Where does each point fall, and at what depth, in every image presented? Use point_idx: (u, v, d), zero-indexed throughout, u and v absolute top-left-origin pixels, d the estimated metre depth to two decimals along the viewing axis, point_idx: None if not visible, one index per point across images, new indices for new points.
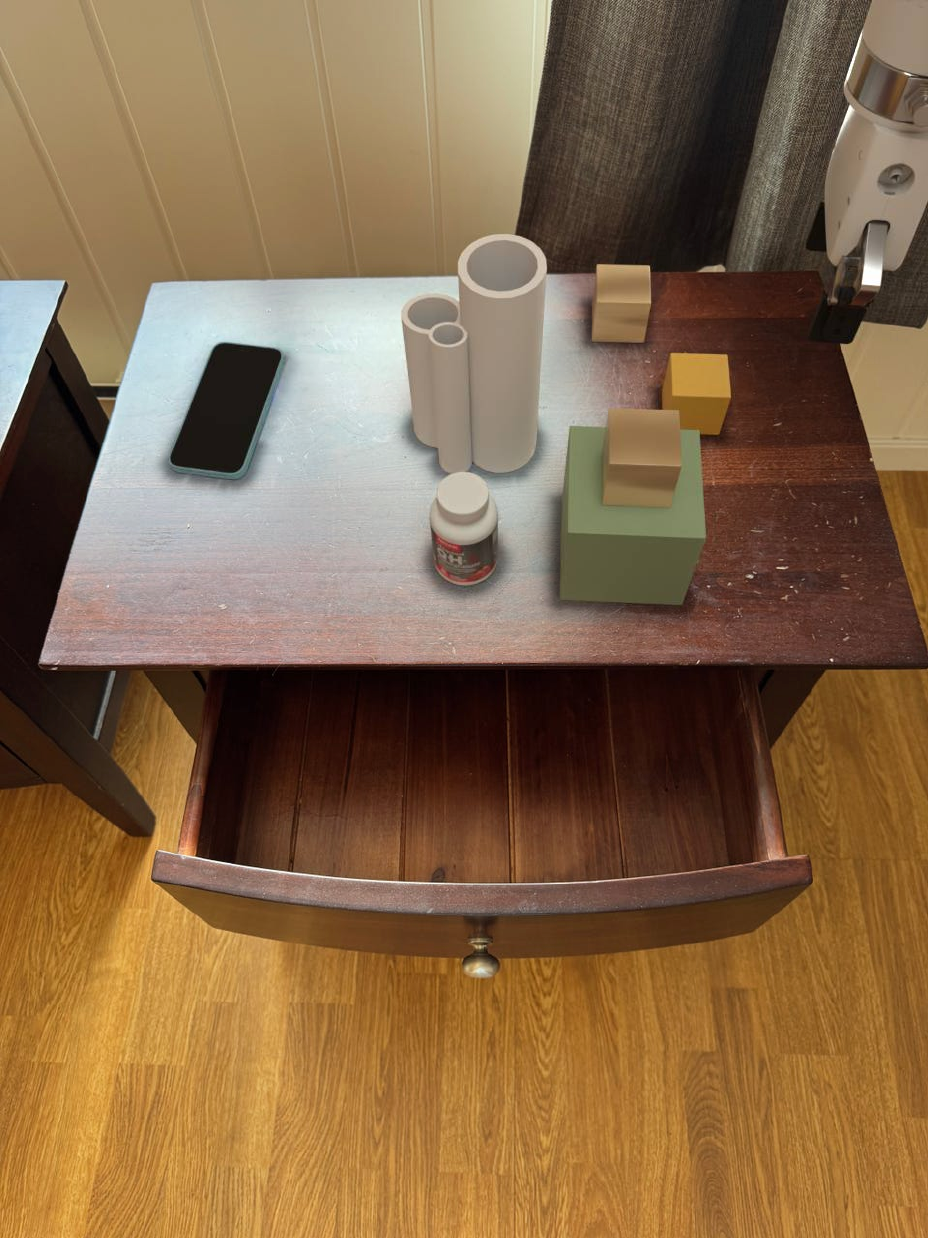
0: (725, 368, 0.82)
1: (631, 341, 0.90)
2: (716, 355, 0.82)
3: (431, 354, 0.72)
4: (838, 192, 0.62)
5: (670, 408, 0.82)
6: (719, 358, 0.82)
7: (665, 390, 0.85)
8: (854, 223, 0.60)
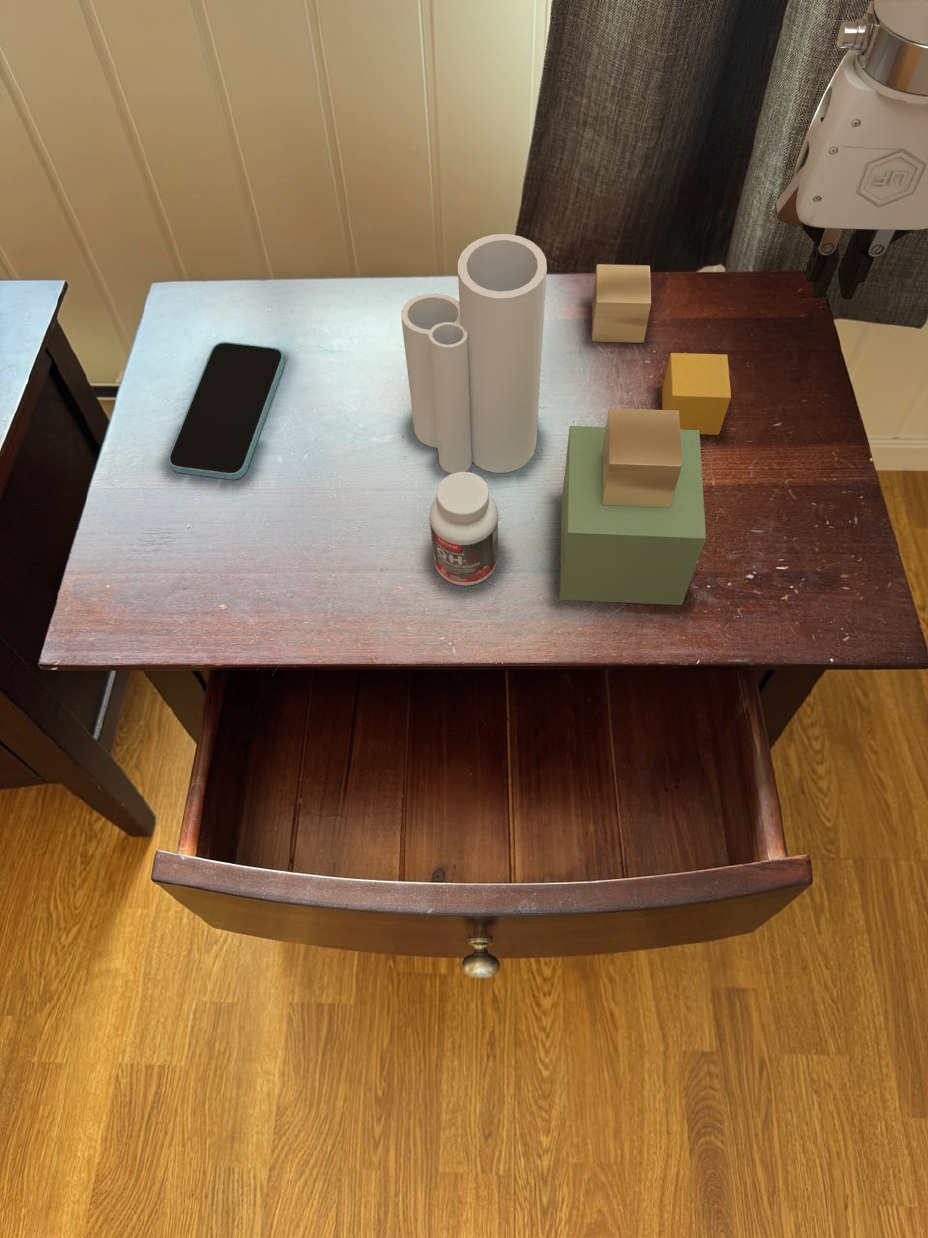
0: (725, 368, 0.82)
1: (631, 341, 0.90)
2: (716, 355, 0.82)
3: (431, 354, 0.72)
4: None
5: (670, 408, 0.82)
6: (719, 358, 0.82)
7: (665, 390, 0.85)
8: (806, 136, 0.63)
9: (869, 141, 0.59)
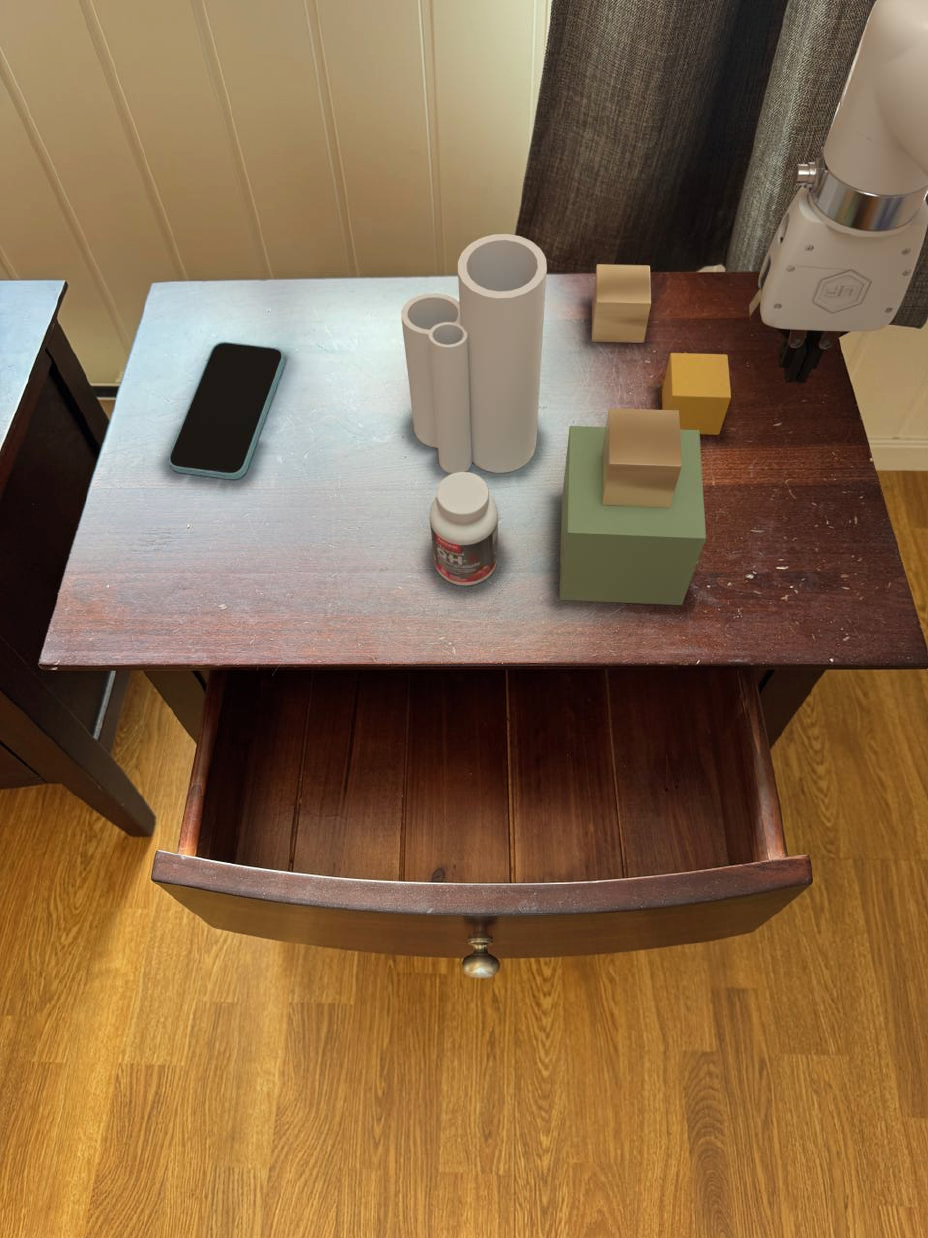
0: (725, 368, 0.82)
1: (631, 341, 0.90)
2: (716, 355, 0.82)
3: (431, 354, 0.72)
4: None
5: (670, 408, 0.82)
6: (719, 358, 0.82)
7: (665, 390, 0.85)
8: (768, 250, 0.72)
9: (821, 263, 0.67)
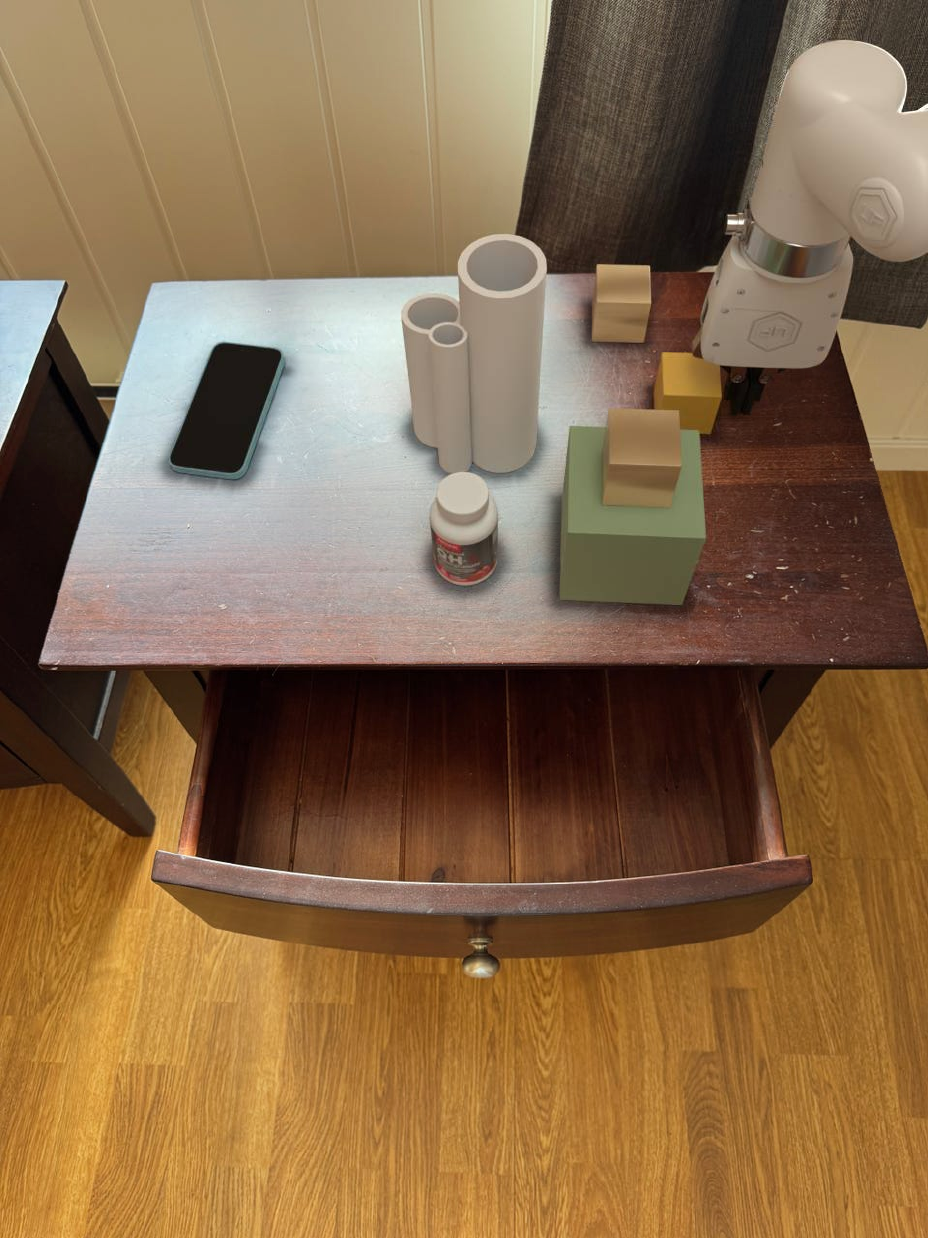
0: (716, 367, 0.82)
1: (631, 341, 0.90)
2: None
3: (431, 354, 0.72)
4: None
5: (661, 407, 0.82)
6: None
7: (657, 389, 0.85)
8: None
9: (753, 305, 0.71)
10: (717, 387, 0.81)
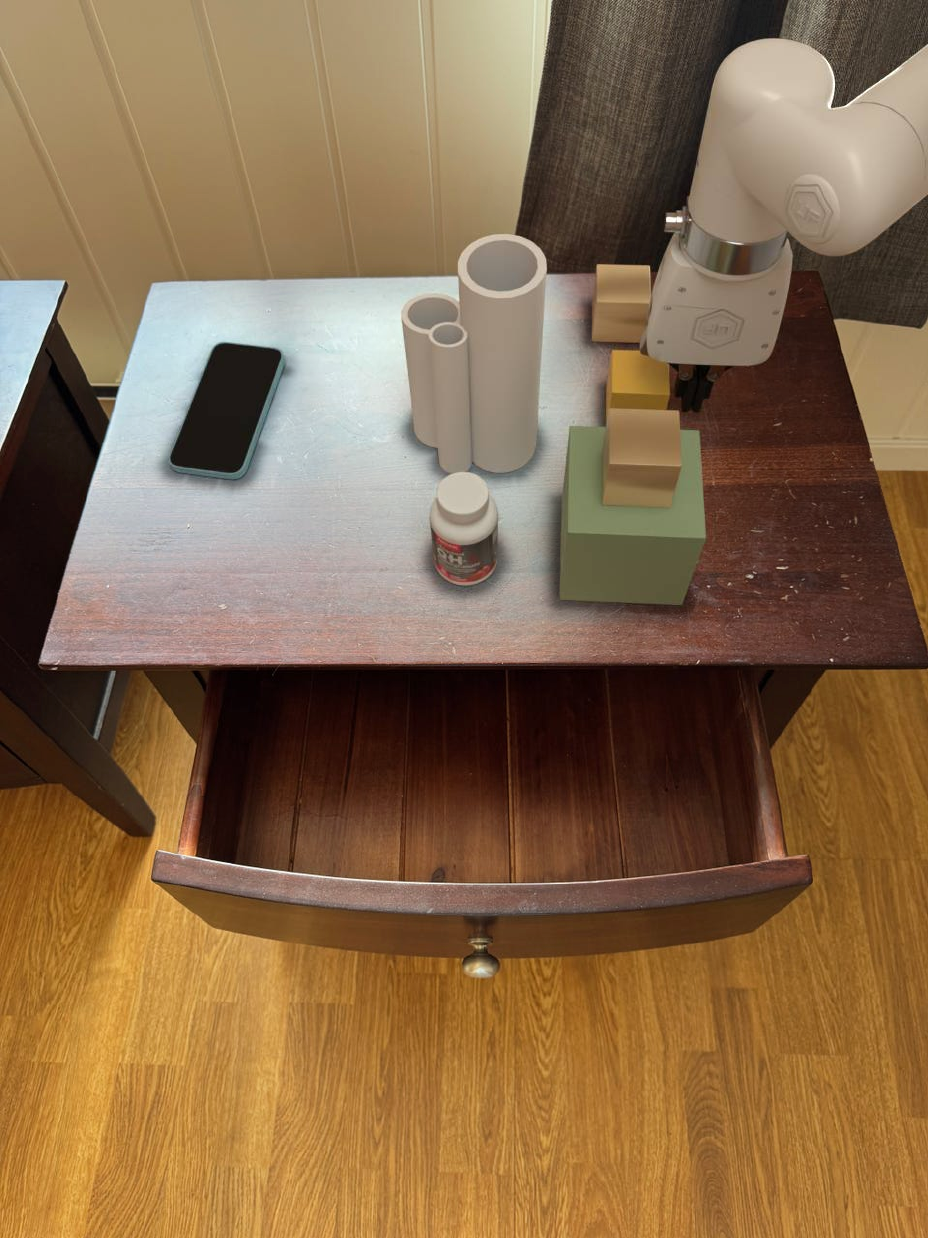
0: (665, 365, 0.82)
1: (631, 341, 0.90)
2: None
3: (431, 354, 0.72)
4: None
5: (610, 405, 0.82)
6: None
7: (608, 387, 0.85)
8: None
9: (695, 303, 0.71)
10: (665, 385, 0.81)
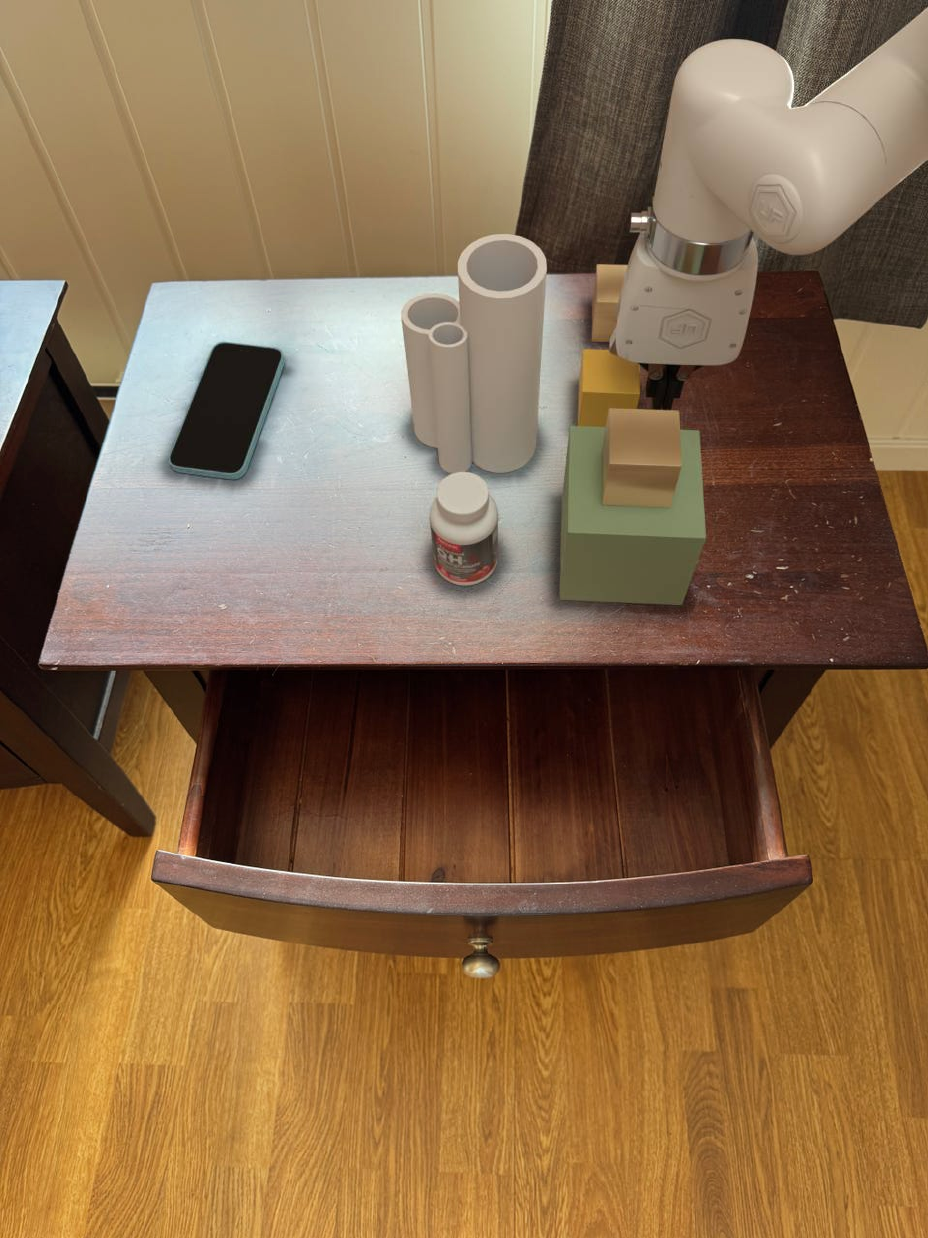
0: (636, 364, 0.82)
1: None
2: None
3: (431, 354, 0.72)
4: None
5: (581, 404, 0.82)
6: None
7: None
8: None
9: (661, 303, 0.71)
10: (635, 384, 0.81)
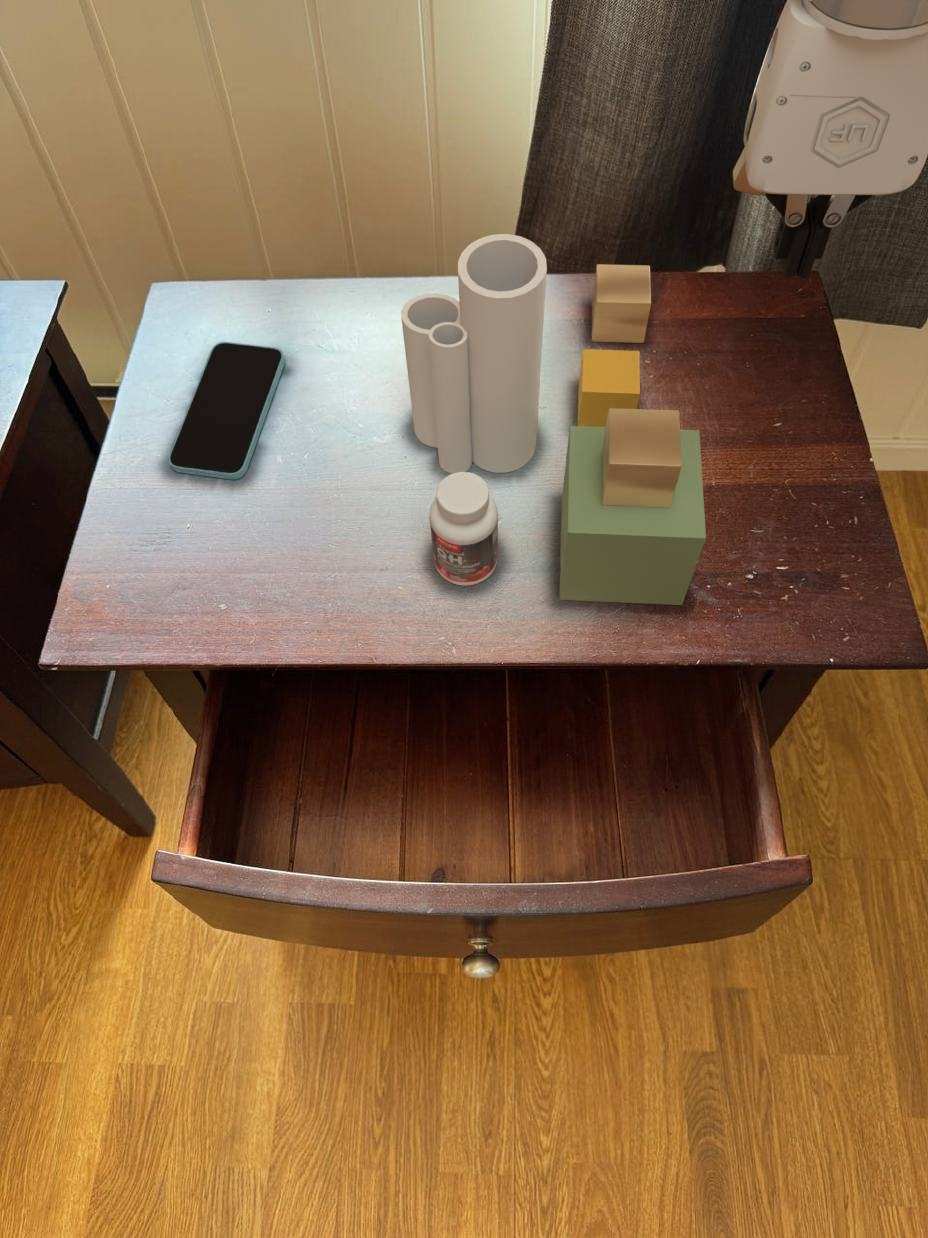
0: (636, 364, 0.82)
1: (631, 341, 0.90)
2: (628, 351, 0.83)
3: (431, 354, 0.72)
4: None
5: (581, 404, 0.82)
6: (631, 354, 0.83)
7: (579, 386, 0.85)
8: None
9: (822, 89, 0.51)
10: (635, 384, 0.81)
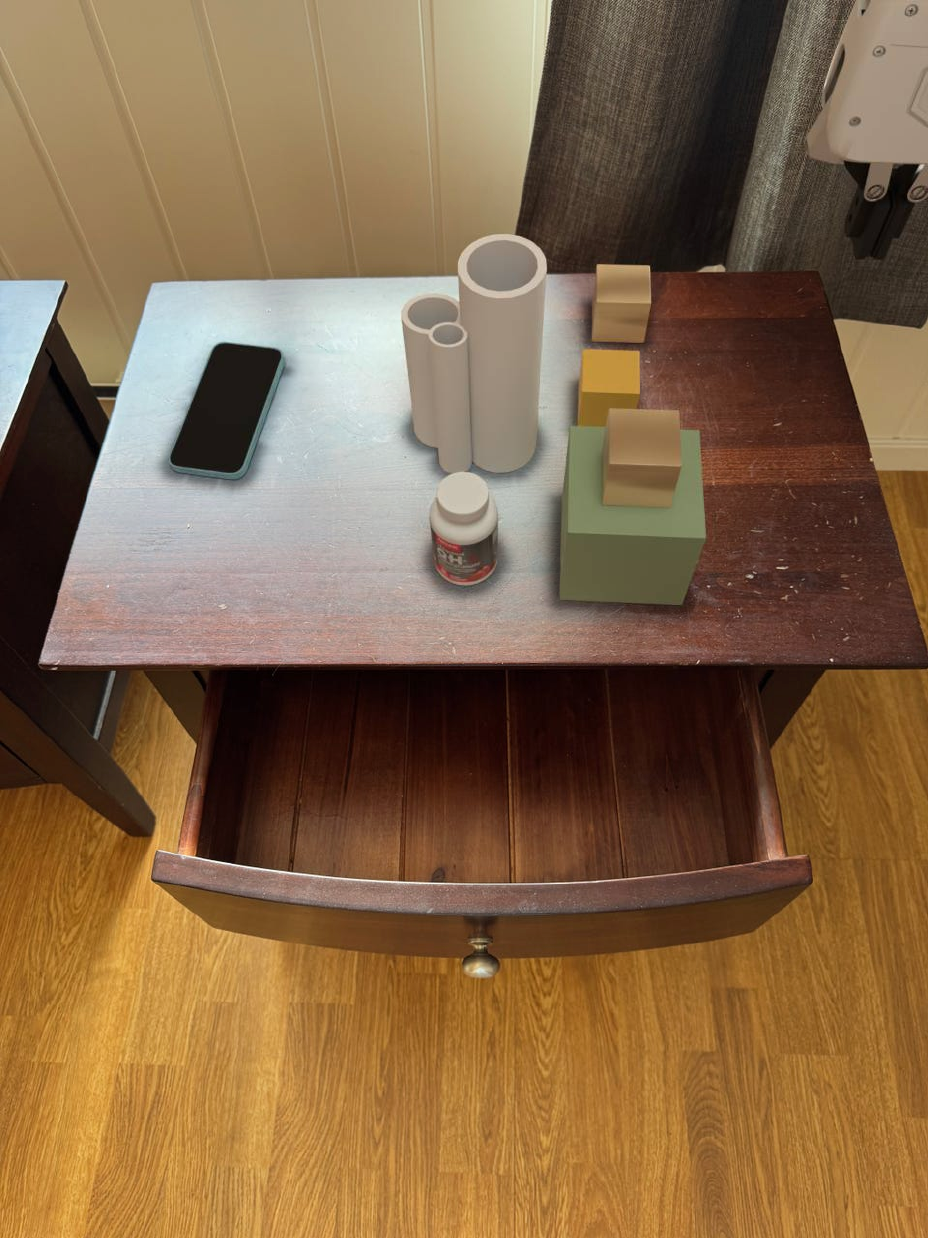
0: (636, 364, 0.82)
1: (631, 341, 0.90)
2: (628, 351, 0.83)
3: (431, 354, 0.72)
4: None
5: (581, 404, 0.82)
6: (631, 354, 0.83)
7: (579, 386, 0.85)
8: None
9: None
10: (635, 384, 0.81)
